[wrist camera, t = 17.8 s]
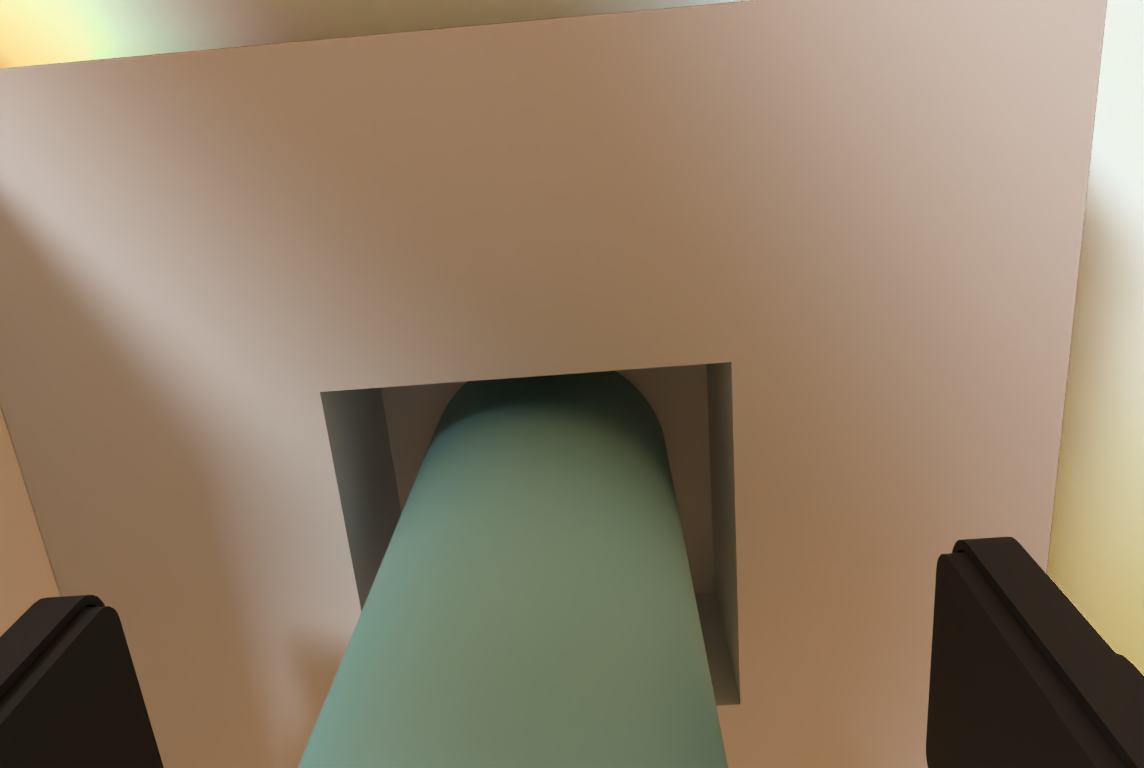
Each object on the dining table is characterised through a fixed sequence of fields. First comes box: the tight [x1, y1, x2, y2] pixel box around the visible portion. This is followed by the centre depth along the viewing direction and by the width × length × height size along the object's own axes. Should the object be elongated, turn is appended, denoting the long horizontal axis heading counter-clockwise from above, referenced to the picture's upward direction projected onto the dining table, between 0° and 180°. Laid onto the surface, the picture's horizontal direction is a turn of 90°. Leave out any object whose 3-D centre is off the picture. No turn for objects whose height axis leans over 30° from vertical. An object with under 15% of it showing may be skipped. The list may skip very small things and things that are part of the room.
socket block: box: [0, 0, 1107, 768], centre depth 15 cm, size 14×14×4 cm
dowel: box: [298, 371, 728, 768], centre depth 11 cm, size 4×4×10 cm
